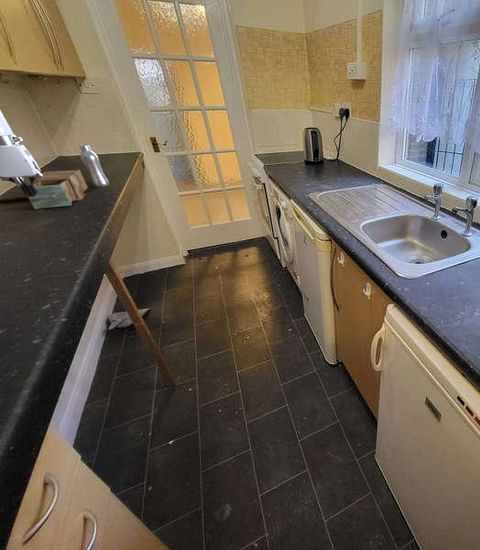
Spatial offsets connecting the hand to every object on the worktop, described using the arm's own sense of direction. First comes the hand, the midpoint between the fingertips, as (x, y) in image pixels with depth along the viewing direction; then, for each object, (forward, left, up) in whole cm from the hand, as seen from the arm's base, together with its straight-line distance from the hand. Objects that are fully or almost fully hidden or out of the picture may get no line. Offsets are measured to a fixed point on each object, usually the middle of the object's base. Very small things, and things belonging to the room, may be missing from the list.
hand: (32, 195), depth 108 cm
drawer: (0, +15, -8) cm, 17 cm away
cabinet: (0, +29, -8) cm, 30 cm away
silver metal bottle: (+11, +40, -9) cm, 42 cm away
